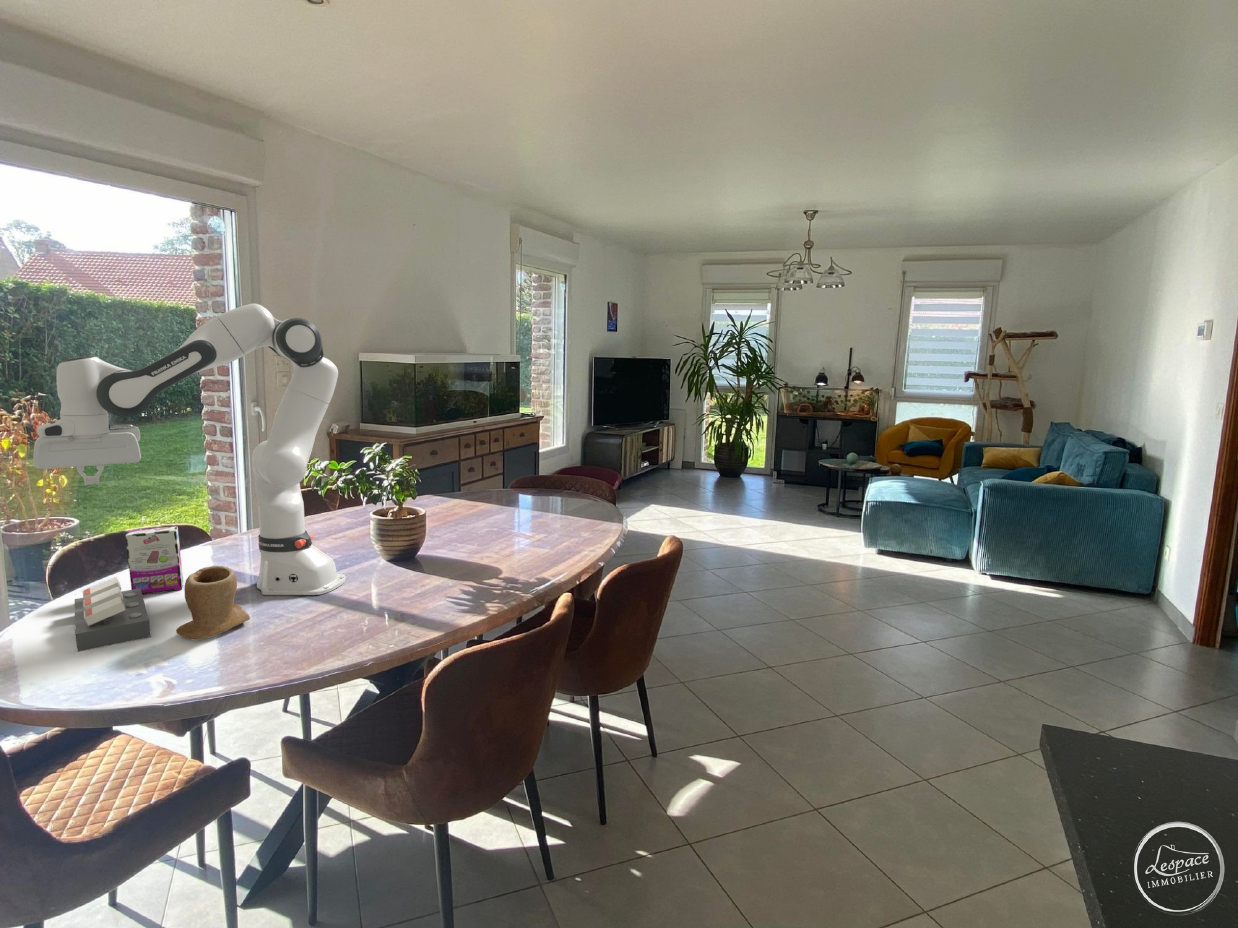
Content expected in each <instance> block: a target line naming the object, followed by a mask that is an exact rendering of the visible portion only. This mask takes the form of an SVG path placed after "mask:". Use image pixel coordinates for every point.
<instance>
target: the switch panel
mask: <svg viewBox="0 0 1238 928" xmlns="http://www.w3.org/2000/svg"><path fill="white" fill-rule="evenodd" d="M121 592H122V595H123V602H124V605H125V610H124V611H122V612H120V613H117V614H115V615H113V616H110V617H108V618H106V619H103V620H101V621H98V622H96V623H94V624H91V625H89V626H88V624H87V622H86V621H85V619H84V611H85V609H84V607H83V601H84V598H83V597H79V598H74V632H75V633H74V635H75V642H76V651H77V652H83V651H84V652H85V651H88V650H89V651H90V650H93V649H98V648H104V647H108V646H112V645H119V644H124V643H127V642H128V643H129V642H132V641H138V640H143V639H147V638H151V637H152V635H151V634H152V633H151V624H150V618H149V615H148V611H147V607H146V604H145V599H144V595H142V592H141V588H139V589H133V590H131V589H128V590H127V589H126V590H122V591H121Z"/></svg>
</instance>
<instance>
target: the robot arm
mask: <svg viewBox="0 0 1238 928" xmlns="http://www.w3.org/2000/svg"><path fill="white" fill-rule="evenodd" d="M263 347H267V348H269V349H270V350H271V351H272V352H274V353H275V354H276V355H277V356H279V357H281V358H283V359H284V360H287V361H290V362H291V363H292V366H293V372H292V375H291V376H292V377H291V379H290V381H289V383H288V385H287V387H286V390H285V391H284V394H283V396H282V398H281V399H280V403H279V404H278V407H277V409H276V412H275V414H274V418H273V422H272V426H271V430H270V432H269V435H268V438H267V439H266V440H264V441H262V442H259V444H257V445H256V446H255V448H254V450H253V452H252V454H251V464H252V465H251V466H252V475H253V481H254V484H253V485H254V489H255V490H254V491H255V495H256V501H257V510H258V511H257V513H258V522H259V523H258V525H259V526H258V527H259V534H258V549H259V552H260V561H259V562H260V564H259V574H258V579H257V583H256V588H257V589H259V590H260V591H261V594H262V595H263V596H316V595H318V596H319V595H324V594H326V593H329V592H332V591H333V590H336V589H337V588H339V587H341V585H343V584H344V583H345V582H346V580H347V577H346V574H344V573H338V572H337V567H336V564H335V560H334V559H333V558H332V557H331V556H329V555H328V554H326V553H324V552H323V551H322V550H320V549H319V548H318V547H316V546H315V545H313V542H312V540H314V539H316V538H315V536H316V535H315V533H314V534H312V535H309V533H308V531H307V530H306V523H305V505H304V503H305V502H304V500H303V495H302V490H301V484H300V482H302V480H304V478H305V475H306V474H307V467H308V464H309V461H310V458H311V454H312V452H313V448H314V444H315V440H316V436H317V433H318V431H319V428H320V426H321V423H322V421H323V419H324V417H325V414H326V412H327V410H328V407H329V405H330V402H331V400H332V399H333V396H334V394H335V390H336V386H337V382H338V377H339V370H338V367H337V366H336V364H335V363H333V361H332V360H330V359H328V358H327V357H324V356H325V355H324V347H323V339H322V335H321V332H320V331H319V329H318V327H317V326H316V325H315V324H314V323H313V322H312V321H310V320H308V319H306V318H302V317H294V318H287V319H284V320H279V319H277V318H276V317H274V316H273V313H271V311H269V310H268V309H267V308H266V307H265V306H263V305H261V304H259V303H249V304H245V305H241V306H238V307H236V308H234V309H231V310H228V311H226V312H223V313H221V314H219V315H217V316H214V317H213V318H212V319H211V318H210V319H209V320H208V321H206V322H204V323H203V324H202V325H201V326H199V327H198V328H196V330H194V331H193V332H192V333H191V334H190V335H189V336H188V338H186V340H185V341H184V342H183V343H182V344H181V345H180V346H179V347H178V348H177V349H175V350H174V351H172V352H170V353H168V354H167V355H164V356H163V357H161V358H159V359H157V360H155V361H153V362H152V363H150V364H148V365H145V366H144V367H141V368H138V369H136V370H131V369H126V368H124V367H119V366H116V365H114V364H111V363H109V362H106V361H104V360H103V359H101V358H99V357H98V356H95V355H84V356H83V355H82V356H76V357H75V356H74V357H70V358H66V359H64V360H62V361H60V362H59V363H58V365H57V367H56V390H57V397H58V399H59V401H60V411H59V417H60V419H57V420H54V421H51V422H47V423H44V424H41V425H39V426H38V427H37V428H36V433H37V436H38V437H37V439H36V440H35V441H34V447H33V456H32V457H33V460H32V461H33V467H35V468H36V469H38V470H45V469H46V470H49V469H60V468H63V469H64V468H74V467H76V472H77V473H78V475H80V476H81V477H82V478H83V484H84V486H88V485H99V484H101V483H100V477H101V475H102V474H103V472H104V470H105V467H104V466H105V465H116V464H117V465H118V464H130V463H131V464H133V463H139V462H140V461H141V460H142V454H141V448H140V445H139V442H140V440H141V438H142V437H141V436H142V435H141V430H140V429H139V427H137V426H136V425H133V424H131V423H128V424H127V423H126V424H110V423H109V421H110V420H109V414H111V415H113V416H116V417H120V418H121V417H122V418H130V417H135V416H137V415H140V414H141V413H143V412H144V411H146V410H147V408H148V407H149V406H150V404H151V403H152V401H153V400H154V399H155V398H156V397H157V395H159V394H160V393H162V392H164V391H165V390H166V389H168V388H170V387H172V386H174V385H175V384H177V383H179V382H181V381H183V380H184V379H186V378H188V377H190V376H192V375H194V374H197V373H200V372H202V371H205V370H209V369H214V368H218V367H221V366H224V365H227V364H229V363H231V362H234V361H237V360H238V359H240V358H243V357H244V356H246V355H248V354H250V353H252V352H254V351H256V350H257V349H260V348H263ZM108 413H109V414H108ZM87 466H88V467H89V466H90V467H91V466H95V467H96V470H98V471H97V472H96V473H95V475H90V476H89V475H88V476H87V475H86V473H85V472H84V471H85V467H87Z"/></svg>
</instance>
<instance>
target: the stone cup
mask: <svg viewBox="0 0 1238 928" xmlns="http://www.w3.org/2000/svg"><path fill="white" fill-rule="evenodd" d="M237 587H238V581H237V576H236V572H234V570H233V569H232V568H230V567H228V566H224V565H211V566H205V567H202V568H199V569H198V570H196V571H195V572H193V573H191V574H189V575H188V577H187V578H186V580H185V582H184V599H185V603H186V605H187V608H188V610H189V611H190V614H191V618H192V619H191V620H190V621H188V622H186V623H184V624H182V625H180V626H178V627H177V628H176V630H175V632H176V634H177V635H178V636H179V637H181V638H183V639H187V640H195V641H196V640H199V641H201V640H205V639H208V638H209V639H210V638H211V637H215V636H217V635H220V634H222V633H224V632H226V631H229V630H230V629H233V628H234V627H237V626H239V625H240V624H243V623H245V622H247V621H249V620H250V619H251V616H250V614H249V613H247V611H245V609H243V607H242V605H240V604H238V603H234V601H235V597H236V594H237V593H236V592H237V589H238V588H237Z"/></svg>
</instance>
